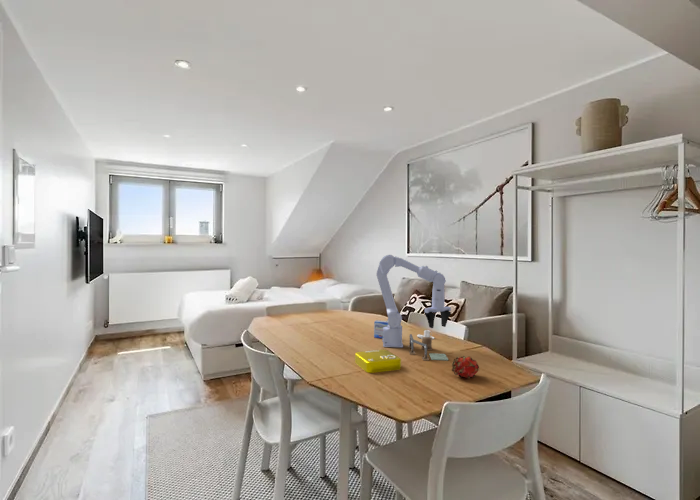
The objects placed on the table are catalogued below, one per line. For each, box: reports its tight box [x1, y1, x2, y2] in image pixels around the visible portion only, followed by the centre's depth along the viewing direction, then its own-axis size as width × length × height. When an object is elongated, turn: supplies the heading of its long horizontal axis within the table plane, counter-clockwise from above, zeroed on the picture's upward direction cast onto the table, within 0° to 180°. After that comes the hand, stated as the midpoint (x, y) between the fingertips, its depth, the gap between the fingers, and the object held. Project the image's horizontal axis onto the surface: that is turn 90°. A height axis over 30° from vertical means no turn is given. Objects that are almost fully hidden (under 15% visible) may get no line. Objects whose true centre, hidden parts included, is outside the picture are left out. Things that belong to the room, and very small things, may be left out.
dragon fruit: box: [451, 355, 480, 379], centre depth 139 cm, size 8×8×12 cm
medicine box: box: [373, 319, 388, 339], centre depth 196 cm, size 8×4×9 cm, turn 73°
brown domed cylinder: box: [421, 337, 433, 351], centre depth 176 cm, size 5×5×5 cm
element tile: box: [354, 349, 402, 374], centre depth 151 cm, size 15×15×5 cm
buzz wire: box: [407, 333, 430, 362], centre depth 168 cm, size 7×20×6 cm, turn 175°
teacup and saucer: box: [416, 329, 435, 340], centre depth 197 cm, size 9×8×4 cm
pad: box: [428, 352, 449, 361], centre depth 162 cm, size 7×8×1 cm
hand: (437, 327), depth 177 cm, fingers open, 7 cm apart
